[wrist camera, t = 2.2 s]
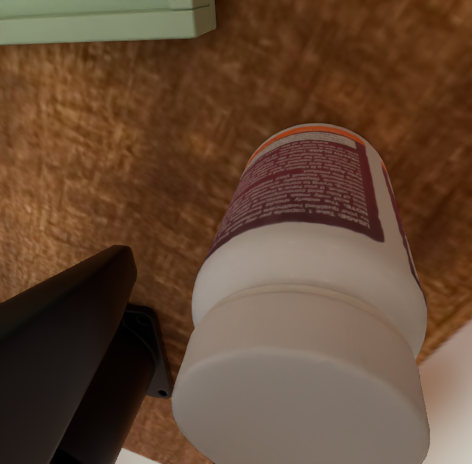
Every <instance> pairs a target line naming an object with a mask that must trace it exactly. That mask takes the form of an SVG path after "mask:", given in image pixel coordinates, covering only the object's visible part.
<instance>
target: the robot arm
mask: <svg viewBox="0 0 472 464" xmlns="http://www.w3.org/2000/svg"><path fill="white" fill-rule="evenodd" d="M136 277H137V269H136V265H135V261H134V257H133V253H132V250H131V248H130V247H129V246H124V245H113V246H111V247H109V248H107V249H105V250H103V251H101V252H100V253H98V254H96V255H94V256H92V257H90V258H88V259H86V260H84V261H82V262H80V263H78V264H76V265H74V266H72V267H70V268H68V269H67V270H65V271H63V272H61V273H59V274H57V275H55V276H53V277H51V278H49V279H47V280H45V281H43V282H41V283H39V284H37V285H35V286H34V287H32V288H30V289H28V290H26V291H24V292H22V293H20V294H18V295H16V296H14V297H12V298H10V299H8V300H6V301H4V302H2V303H1V304H0V464H115V462H116V460H117V457H118V455H119V453H120V451H121V448H122V446H123V444H124V442H125V439H126V437H127V435H128V433H129V431H130V428H131V426H132V424H133V422H134V419H135V417H136V415H137V413H138V410H139V408H140V406H141V404H142V401H143V399H144V397H145V395H146V396H152V397H158V398H164V399H168V398H170V397H171V396H172V393H173V389H174V386H173V382H172V378H171V374H170V370H169V365H168V361H167V357H166V353H165V349H164V344H163V340H162V336H161V332H160V328H159V323H158V319H157V315H156V313H155V312H154V311H153V310H152V309H150V308H148V307H143V306H134V305H127V302H128V300H129V297H130V294H131V292H132V289H133V286H134V284H135V281H136Z"/></svg>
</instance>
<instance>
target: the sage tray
mask: <svg viewBox="0 0 472 464" xmlns="http://www.w3.org/2000/svg"><path fill="white" fill-rule="evenodd" d="M216 27H217V26H216V13H215V0H0V45H24V44H51V43H79V42H107V41H134V40H162V39H190V38H196V37H198V36H201V35H203V34H205V33H207V32H209V31H212V30H214V29H216Z"/></svg>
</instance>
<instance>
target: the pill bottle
mask: <svg viewBox="0 0 472 464" xmlns="http://www.w3.org/2000/svg"><path fill="white" fill-rule="evenodd" d="M192 318H193V323H194V327H195V329H194V331H193V332H192V334H191V337H190V340H189V342H188V345H187V349H186V353H185V356H184V359H183V362H182V365H181V367H180V370H179V373H178V376H177V379H176V382H175V385H174V389H173V393H172V412H173V416H174V418H175V421H176V423H177V425H178V427H179V429H180V431H181V432H182V434H183V435H184V436H185V438H186V439H187V440H188V441H189V442H190V443H191V444H192V446H193V447H195V448H196V449H197V450H198V451H199V452H200V453H202V454H203V455H204V456H205V457H207V458H208V459H210V460H211V461H213V462H214V463H216V464H422V463H423V461H424V460H425V458H426V456H427V453H428V449H429V445H430V429H429V424H428V418H427V413H426V407H425V402H424V398H423V393H422V388H421V383H420V375H419V369H418V367H417V364H416V361H415V359H416V357H417V356H418V354H419V352H420V350H421V347H422V344H423V342H424V339H425V333H426V327H427V303H426V299H425V296H424V293H423V291H422V288H421V285H420V282H419V278H418V275H417V272H416V269H415V265H414V262H413V258H412V255H411V251H410V248H409V244H408V241H407V237H406V234H405V231H404V227H403V224H402V220H401V217H400V213H399V209H398V207H397V204H396V200H395V196H394V193H393V189H392V186H391V182H390V179H389V176H388V173H387V170H386V167H385V165H384V163H383V160H382V159H381V157H380V156H379V154H378V153H377V151H376V150H375V149H374V148H373V147H372V146H371V145H370V144H369V143H368V142H367V141H366V140H365V139H363V138H362V137H361V136H360V135H358V134H356V133H354V132H352V131H350V130H348V129H346V128H343V127H339V126H335V125H331V124H324V123H310V124H301V125H296V126H293V127H290V128H288V129H285V130H282V131H280V132H278V133H277V134H275V135H273V136H272V137H270V138H269V139H267V140H266V141H265V142H264V143H262V145H261V146H260V147H259V148H258V149H257V150H256V151H255V152H254V154H253V155H252V156H251V158H250V160H249V162H248V163H247V165H246V168H245V170H244V172H243V174H242V176H241V178H240V181H239V184H238V186H237V188H236V190H235V192H234V194H233V197H232V200H231V202H230V204H229V206H228V209H227V211H226V213H225V215H224V218H223V220H222V222H221V224H220V227H219V229H218V231H217V233H216V236H215V238H214V240H213V242H212V245H211V247H210V249H209V252H208V254H207V256H206V258H205V260H204V262H203V264H202V266H201V267H200V269H199V272H198V274H197V277H196V280H195V285H194V290H193V296H192Z"/></svg>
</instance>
